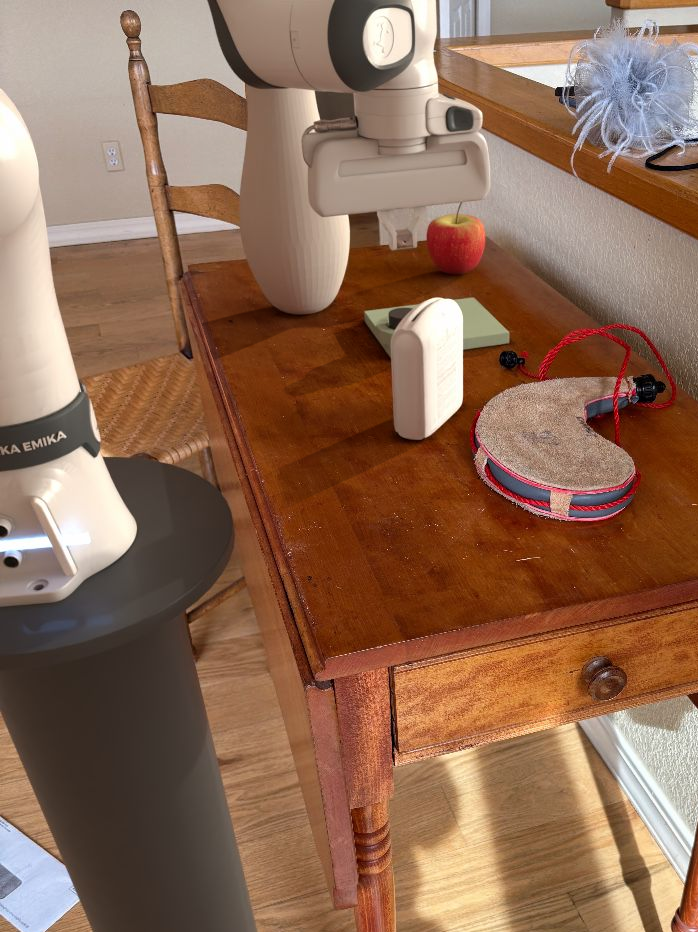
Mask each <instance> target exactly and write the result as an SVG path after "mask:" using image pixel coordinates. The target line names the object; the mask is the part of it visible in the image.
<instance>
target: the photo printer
mask: <svg viewBox="0 0 698 932" xmlns="http://www.w3.org/2000/svg"><path fill="white" fill-rule="evenodd" d="M453 300H454V299H451V298H442V297H432V298H429V299H427V300H424V301H421V303H420V302H419V305H417V304H416V305H417V306H416V307H415V308H413V309H412V310H411V311H410V312H409V313H408V314H407V315H406V316H405V317H404V318H403V319H402V320H401V322H400V323H399V324H398V326H397V328H396V329H395V331H394V333H393V336H392V339H391V358H390V360H391V364H390V366H391V387H392V406H393V408H392V410H393V426H394V431H395V432H396V433H398V435H399V436H400V437H401V438H404V439H407V440H412V441H418V440H419V441H421V440H423V439H427V438H428V437H430V436H432V435H433V434H434V433H435V432H436V431H437V430H438V429H439V428H441V426H442V425H444V424H445V423H446V422H447V421H448V420H450V418H451V417H452V416H453V415H454V414H456V412H457V411H458V410H459V409H460V407H461V406H462V404H463V401H464V400H463V398H464V358H463V356H464V350H463V316H462V312H461V310H460V308H459V306H458V305H457V303H456V302H455V301H453Z"/></svg>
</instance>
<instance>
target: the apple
mask: <svg viewBox="0 0 698 932" xmlns="http://www.w3.org/2000/svg"><path fill="white" fill-rule="evenodd" d="M463 203H464V202H459V206H458V208H457V212H456V213H453V214H452V213H451V214H446V215H442V216H439V217H437V218H434V219H433V220H431V221H430V222H429V224H428V226H427V229H426V247H427V251H428V254H429V256H430V259H431V260H432V262H433V264H434V265H435V267H436V268H437V269H438V270H439V271H441V272H443V273H444V274H447V275H454V276H455V275H457V276H459V275H464V274H466V273H469V272H471V271H472V270H474V269H475V268H476V267H477V265H478V264H479V263H480V261H481V259H482V257H483V253H484V251H485V247H486V233H485V232H486V231H485V226H484V224H483V222H482V221H481V220H480V219H479V218H477V217H476V216H474V215H469V214H463V213H459V212H460V210H461V207H462V204H463Z"/></svg>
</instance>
